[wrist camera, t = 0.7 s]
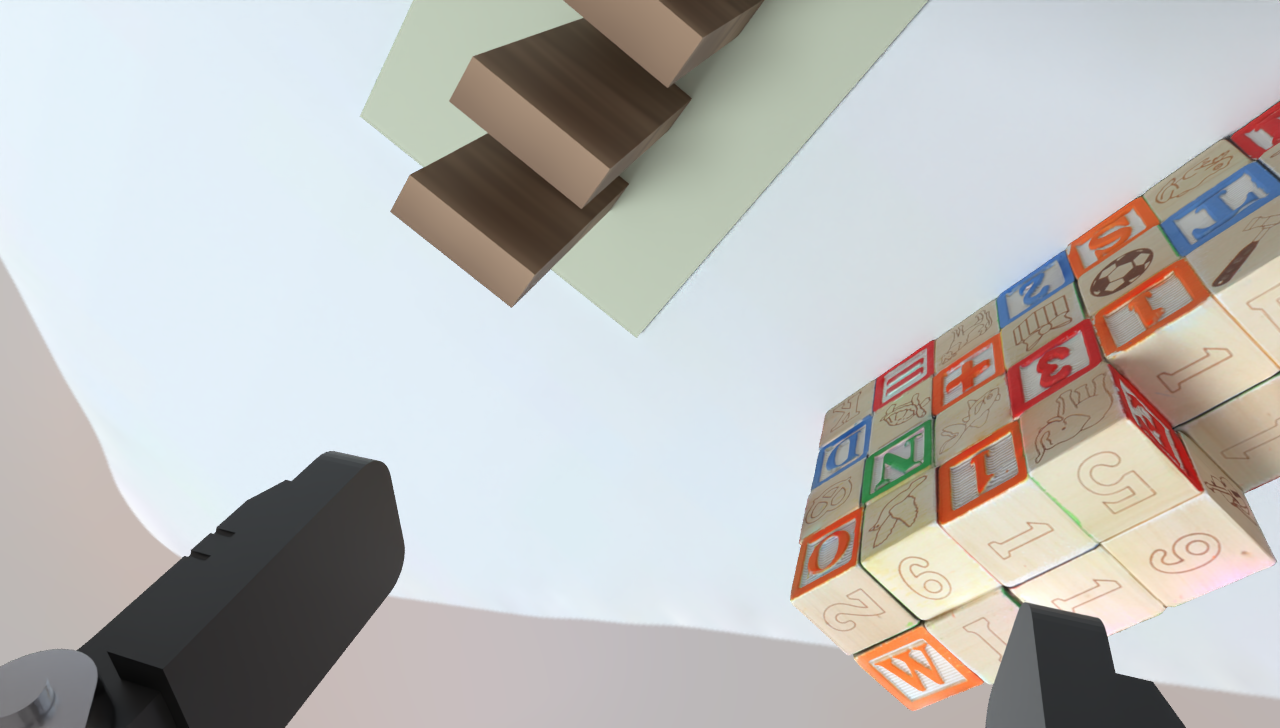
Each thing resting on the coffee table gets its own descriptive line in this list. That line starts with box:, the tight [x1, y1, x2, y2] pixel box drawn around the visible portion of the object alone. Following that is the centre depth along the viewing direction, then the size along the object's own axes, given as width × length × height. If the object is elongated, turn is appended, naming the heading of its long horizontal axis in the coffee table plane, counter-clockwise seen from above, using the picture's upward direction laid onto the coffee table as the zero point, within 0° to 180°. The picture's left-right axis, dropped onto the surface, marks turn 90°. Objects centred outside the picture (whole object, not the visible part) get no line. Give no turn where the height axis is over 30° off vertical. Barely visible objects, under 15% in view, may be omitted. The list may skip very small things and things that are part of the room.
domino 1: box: [449, 18, 692, 209], centre depth 28 cm, size 2×5×10 cm, turn 55°
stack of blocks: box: [790, 102, 1280, 711], centre depth 27 cm, size 21×6×12 cm, turn 139°
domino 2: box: [390, 133, 629, 308], centre depth 30 cm, size 2×5×10 cm, turn 55°
